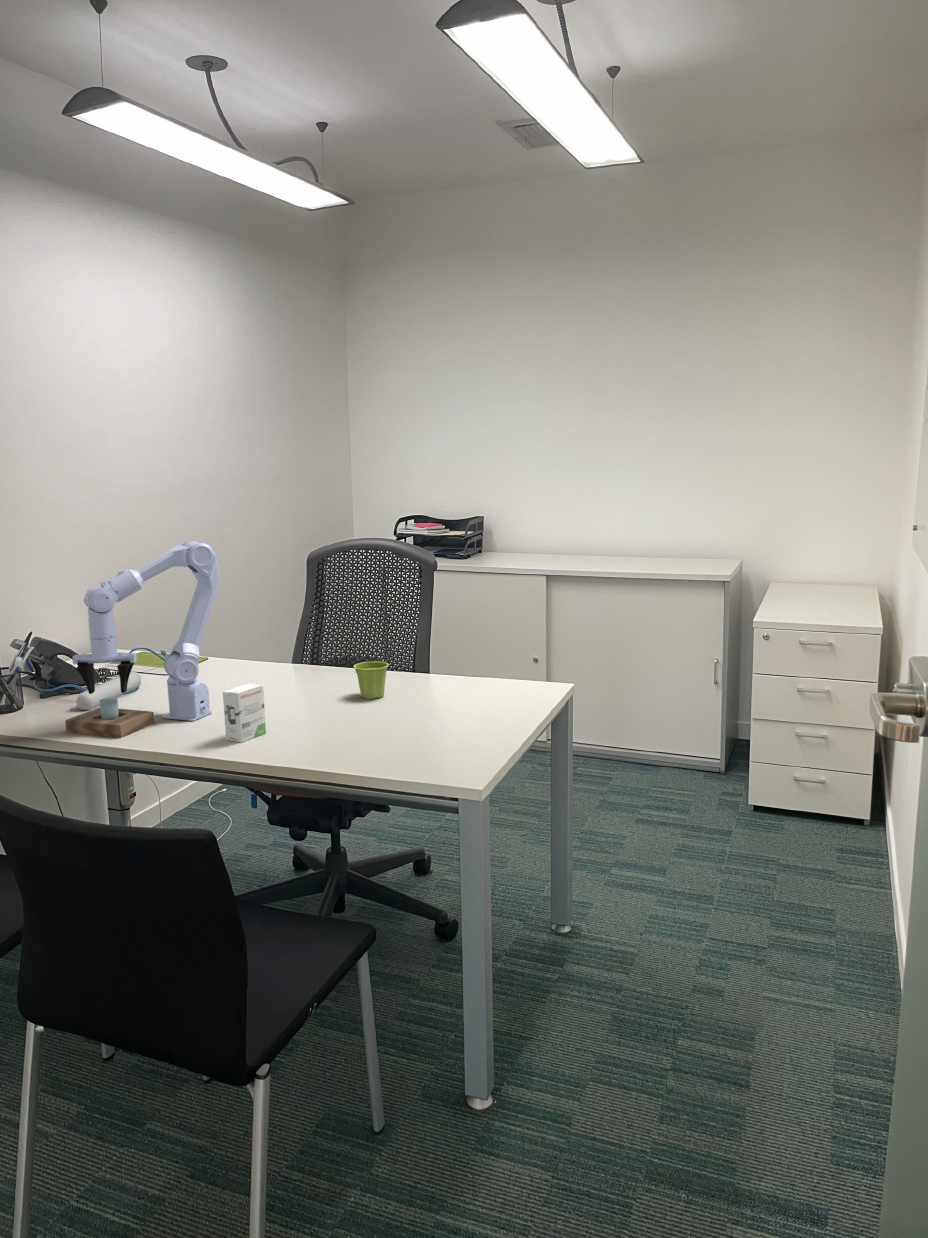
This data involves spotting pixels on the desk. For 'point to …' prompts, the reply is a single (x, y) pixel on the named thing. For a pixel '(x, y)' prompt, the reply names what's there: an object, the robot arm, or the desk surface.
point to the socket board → (110, 723)
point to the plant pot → (371, 678)
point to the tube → (107, 691)
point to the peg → (109, 708)
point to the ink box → (244, 712)
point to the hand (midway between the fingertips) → (108, 692)
